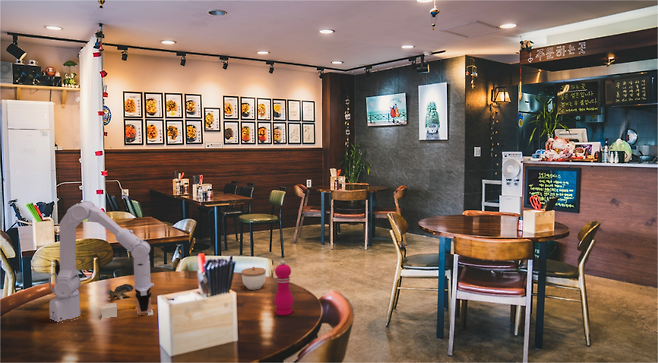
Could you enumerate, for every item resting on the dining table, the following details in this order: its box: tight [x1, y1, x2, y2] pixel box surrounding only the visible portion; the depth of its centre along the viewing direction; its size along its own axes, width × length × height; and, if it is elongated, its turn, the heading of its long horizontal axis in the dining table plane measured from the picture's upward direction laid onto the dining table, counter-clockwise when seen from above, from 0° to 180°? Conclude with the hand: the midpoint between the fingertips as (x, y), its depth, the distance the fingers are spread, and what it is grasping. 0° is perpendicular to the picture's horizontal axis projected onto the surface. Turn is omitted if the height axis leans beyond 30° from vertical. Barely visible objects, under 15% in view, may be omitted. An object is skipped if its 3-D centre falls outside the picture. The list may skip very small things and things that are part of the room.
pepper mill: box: [273, 260, 294, 316], centre depth 172 cm, size 7×7×20 cm
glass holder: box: [48, 264, 60, 298], centre depth 188 cm, size 9×14×15 cm, turn 174°
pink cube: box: [135, 297, 152, 314], centre depth 175 cm, size 5×5×5 cm
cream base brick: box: [100, 302, 118, 319], centre depth 170 cm, size 5×5×4 cm
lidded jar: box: [241, 266, 267, 291], centre depth 204 cm, size 11×11×9 cm
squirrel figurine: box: [106, 283, 134, 302], centre depth 191 cm, size 8×7×9 cm
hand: (143, 308), depth 175 cm, fingers closed on pink cube, 5 cm apart
